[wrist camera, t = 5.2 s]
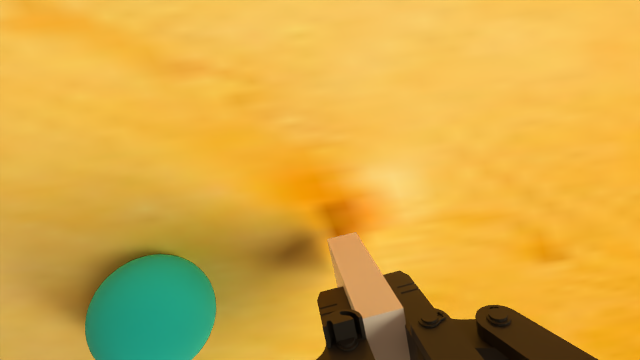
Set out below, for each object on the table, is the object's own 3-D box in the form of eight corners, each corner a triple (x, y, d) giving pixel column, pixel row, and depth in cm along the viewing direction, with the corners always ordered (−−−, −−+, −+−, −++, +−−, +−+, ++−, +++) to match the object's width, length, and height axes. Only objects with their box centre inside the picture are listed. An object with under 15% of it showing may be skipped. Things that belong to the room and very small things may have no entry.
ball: (138, 338, 19) (86, 428, 14) (103, 251, 18) (31, 314, 13) (234, 313, 20) (220, 391, 14) (207, 226, 18) (181, 277, 13)
